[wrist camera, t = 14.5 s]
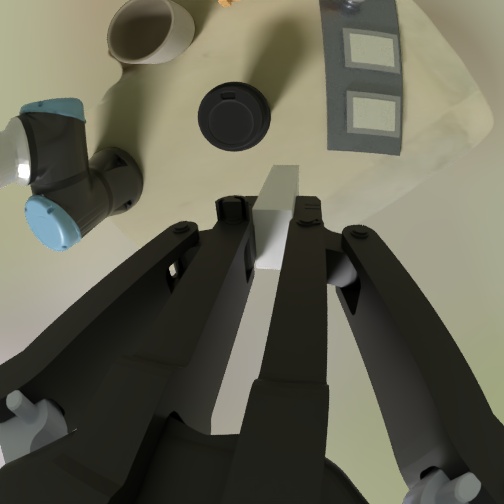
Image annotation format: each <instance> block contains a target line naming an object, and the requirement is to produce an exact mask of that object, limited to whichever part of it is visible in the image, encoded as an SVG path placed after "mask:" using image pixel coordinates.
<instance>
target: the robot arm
mask: <svg viewBox="0 0 504 504" xmlns="http://www.w3.org/2000/svg"><path fill="white" fill-rule="evenodd" d="M85 124H86V120H85V118H84V108H83V103H82V102H81V101H80V100H79V99H77V98H57V99H49V100H44V101H39V102H33V103H29V104H26V105H24V106H22V107H21V110H20V115H19V116H16V117H13V118H11V120H10V121H9V123H8V125H7V126H6V128H5V130H4V131H1V132H0V189H2V188H3V187H5V186H7V185H9V184H11V183H16V184H18V185H21V186H22V187H25V186H27V185H29V184H30V185H31V190H32V194H33V195H32V196H31V197H30V198H29V199H28V200H27V202H26V204H25V215H26V220H27V222H28V224H29V227H30V228H31V230H32V232H33V233H34V235H35V236H36V237H37V238H38V240H40V241H41V242H42V243H43V244H44V245H45V246H46V247H48V248H50V249H52V250H54V251H65V250H67V249H69V248H70V247H71V246H73V245H74V244H76V243H78V242H79V241H80V240H81V238H83V237H84V236H85V235H86V234H87V233H88V232H90V231H91V230H92V229H93V228H94V227H95V226H97V225H98V224H99V223H100V222H101V221H103V220H104V219H105V218H106V217H109V216H113V215H117V214H121V213H124V212H126V211H128V210H129V209H130V208H132V207H133V206H134V205H135V204H136V203H137V202H138V200H139V198H140V196H141V192H142V177H141V173H140V170H139V168H138V166H137V164H136V162H135V161H134V159H133V158H132V157H131V156H130V155H129V154H128V153H127V152H125V151H123V150H121V149H119V148H106V149H104V150H101V151H99V152H97V153H96V154H94V155H93V156H92V157H91V158H90V160H89V161H88V153H87V143H86V132H85ZM215 204H216V211H217V218H218V221H217V223H216V224H215V226H214V227H213V229H210V230H204V231H199V230H198V225H197V224H196V223H194V222H188V221H183V222H182V221H181V222H178V223H176V224H174V225H172V226H170V227H168V228H167V229H166V230H164V231H163V232H162V233H160V234H159V235H158V236H156V237H155V238H154V239H152V240H151V241H150V242H148V243H147V244H146V245H145V246H143V247H142V248H141V249H139V250H138V251H137V252H135V253H134V254H133V255H132V256H131V257H129V258H128V259H127V260H125V261H124V262H123V263H122V264H120V265H119V266H118V267H117V268H115V269H114V270H113V271H112V272H110V273H109V274H108V275H107V276H106V277H104V278H103V279H102V280H101V281H100V282H98V283H97V284H96V285H95V286H94V287H92V288H91V289H90V290H89V291H88V292H86V293H85V294H84V295H83V296H82V297H81V298H80V299H79V300H77V301H76V302H75V303H74V304H73V305H72V306H70V307H69V308H68V309H67V310H66V311H65V312H64V313H63V314H62V315H60V316H59V317H58V318H57V319H56V320H55V321H54V322H53V323H52V324H51V325H50V326H48V327H47V328H46V329H45V330H44V331H43V332H42V333H41V334H40V335H39V336H38V337H37V338H36V339H35V340H34V341H33V342H32V343H31V344H30V345H29V346H28V347H27V348H26V349H25V350H24V351H22V352H21V353H19V354H17V355H16V356H14V357H13V358H11V359H9V360H8V361H6V362H5V363H3V364H1V365H0V445H1V449H2V452H3V456H4V460H5V463H6V464H5V465H4V466H3V467H2V468H1V469H0V504H369V503H368V502H367V501H366V499H365V498H364V497H363V496H362V494H361V493H360V492H359V490H358V489H357V488H356V487H355V485H354V484H353V483H352V482H351V480H350V479H349V478H348V476H347V475H346V474H345V473H344V472H343V471H342V470H341V469H340V468H339V467H338V466H337V465H336V464H335V463H333V462H332V461H330V460H329V459H328V458H326V457H325V451H326V439H327V427H328V411H329V385H327V382H326V376H327V284H332V285H335V286H336V293H337V296H338V298H339V300H340V303H341V305H342V308H343V310H344V312H345V315H346V317H347V320H348V322H349V325H350V327H351V330H352V332H353V335H354V337H355V340H356V343H357V345H358V348H359V350H360V353H361V356H362V358H363V361H364V364H365V367H366V369H367V372H368V375H369V378H370V381H371V383H372V386H373V389H374V392H375V395H376V398H377V401H378V404H379V407H380V410H381V413H382V416H383V419H384V422H385V426H386V429H387V432H388V435H389V438H390V442H391V445H392V449H393V452H394V455H395V458H396V461H397V464H398V467H399V470H400V473H401V475H402V477H403V479H404V481H405V483H406V485H407V486H408V488H409V489H410V491H409V492H408V493H407V494H406V496H405V498H404V500H403V503H402V504H504V426H503V424H502V423H501V422H500V421H499V420H498V419H497V418H496V416H495V415H494V414H493V413H492V410H491V408H490V406H489V404H488V402H487V400H486V398H485V396H484V394H483V391H482V390H481V388H480V386H479V384H478V382H477V380H476V378H475V376H474V374H473V373H472V370H471V369H470V367H469V365H468V363H467V361H466V360H465V358H464V356H463V354H462V353H461V351H460V349H459V348H458V346H457V344H456V343H455V341H454V339H453V338H452V336H451V334H450V333H449V331H448V330H447V328H446V327H445V325H444V324H443V322H442V320H441V319H440V317H439V316H438V314H437V313H436V312H435V310H434V308H433V307H432V305H431V304H430V302H429V301H428V300H427V298H426V297H425V295H424V294H423V293H422V291H421V290H420V288H419V287H418V285H417V284H416V283H415V281H414V280H413V279H412V277H411V276H410V275H409V273H408V272H407V271H406V269H405V268H404V267H403V266H402V264H401V263H400V261H399V260H398V259H397V258H396V256H395V255H394V254H393V253H392V251H391V250H390V249H389V248H388V246H387V245H386V244H385V243H384V242H383V240H382V239H381V238H380V237H379V235H378V234H377V233H376V232H375V231H374V230H372V229H371V228H368V227H367V226H364V225H363V226H362V225H351V226H347V227H345V228H344V229H343V231H342V234H340V233H336V232H332V231H330V230H328V229H326V228H325V227H324V223H323V221H322V212H321V200H319V199H318V198H317V197H316V196H299V165H273V167H272V169H271V171H270V173H269V175H268V177H267V179H266V181H265V183H264V185H263V187H262V189H261V192H260V194H259V196H245V197H244V196H237V195H234V196H227V197H223V198H220V199H218V200H217V201H215ZM255 260H256V267H257V268H259V269H279V270H281V272H280V277H279V282H278V287H277V292H276V298H275V302H274V307H273V313H272V317H271V322H270V327H269V332H268V337H267V342H266V346H265V351H264V356H263V360H262V365H261V370H260V374H259V377H258V379H256V380H254V382H253V384H252V387H251V391H250V394H249V398H248V402H247V406H246V410H245V415H244V418H243V422H242V426H241V430H240V434H229V435H211V416H212V412H213V409H214V406H215V403H216V399H217V396H218V393H219V390H220V387H221V383H222V380H223V377H224V374H225V370H226V367H227V364H228V361H229V358H230V354H231V351H232V347H233V344H234V341H235V338H236V334H237V331H238V328H239V325H240V321H241V318H242V315H243V312H244V308H245V305H246V302H247V298H248V295H249V292H250V289H251V285H252V282H253V279H254V263H255ZM173 263H174V267H175V271H176V273H175V274H174V275H173V276H171V274H170V271H169V267H170V266H171V265H172V264H173ZM75 429H76V430H75ZM74 430H75V431H74ZM72 431H73V432H72Z"/></svg>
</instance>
